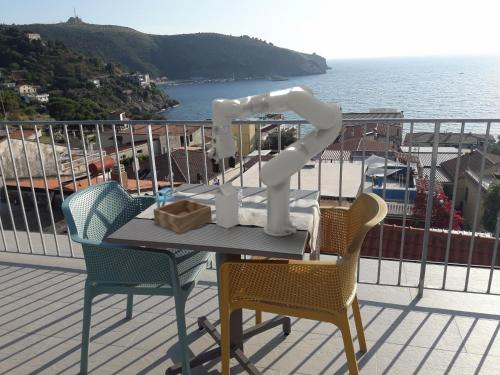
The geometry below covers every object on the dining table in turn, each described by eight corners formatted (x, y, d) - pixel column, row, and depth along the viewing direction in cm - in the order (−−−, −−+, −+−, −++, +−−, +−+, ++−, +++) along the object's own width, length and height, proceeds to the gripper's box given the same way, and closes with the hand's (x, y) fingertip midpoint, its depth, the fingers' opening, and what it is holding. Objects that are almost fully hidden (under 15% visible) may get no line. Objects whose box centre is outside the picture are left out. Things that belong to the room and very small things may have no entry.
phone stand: (164, 207, 192) (161, 185, 188) (177, 209, 188) (175, 186, 185) (154, 213, 185) (151, 189, 182) (168, 215, 182) (165, 191, 178)
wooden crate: (211, 220, 174) (210, 206, 172) (181, 233, 161) (179, 218, 159) (185, 212, 185) (184, 198, 183) (155, 223, 172) (153, 209, 170)
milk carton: (238, 224, 169) (237, 183, 163) (227, 229, 164) (225, 187, 158) (227, 220, 174) (225, 180, 168) (216, 225, 169) (213, 183, 163)
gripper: (213, 133, 148) (215, 176, 153) (243, 127, 160) (244, 167, 165) (200, 131, 152) (203, 173, 158) (230, 126, 165) (231, 164, 170)
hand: (224, 170), depth 161 cm, fingers open, 9 cm apart
